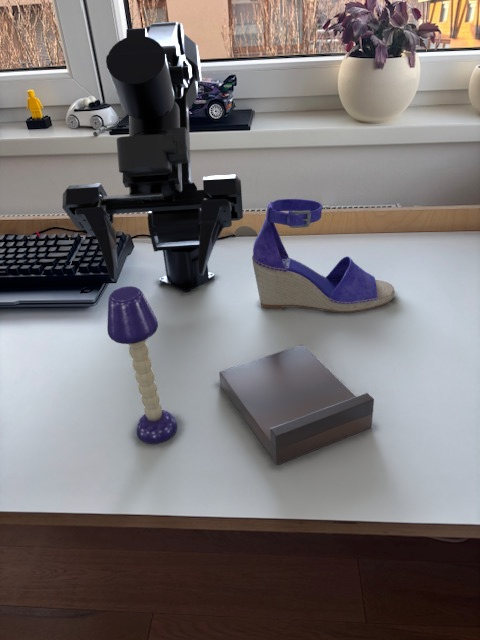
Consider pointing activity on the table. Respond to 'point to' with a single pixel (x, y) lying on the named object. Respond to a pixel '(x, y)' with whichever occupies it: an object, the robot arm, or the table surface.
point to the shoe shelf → (295, 403)
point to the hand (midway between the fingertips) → (157, 277)
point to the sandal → (309, 269)
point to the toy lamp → (140, 358)
